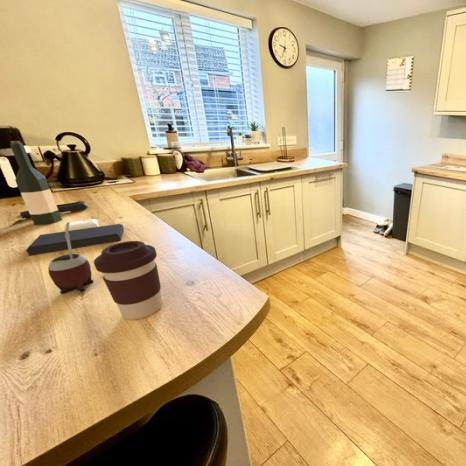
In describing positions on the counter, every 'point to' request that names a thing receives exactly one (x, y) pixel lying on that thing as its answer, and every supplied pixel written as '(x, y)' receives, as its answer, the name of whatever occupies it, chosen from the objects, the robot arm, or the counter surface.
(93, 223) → the soap bar
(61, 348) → the counter surface
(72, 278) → the mate gourd
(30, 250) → the dark grey flat bar
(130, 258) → the coffee cup
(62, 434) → the counter surface
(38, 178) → the wine bottle
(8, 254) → the counter surface
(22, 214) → the door handle
